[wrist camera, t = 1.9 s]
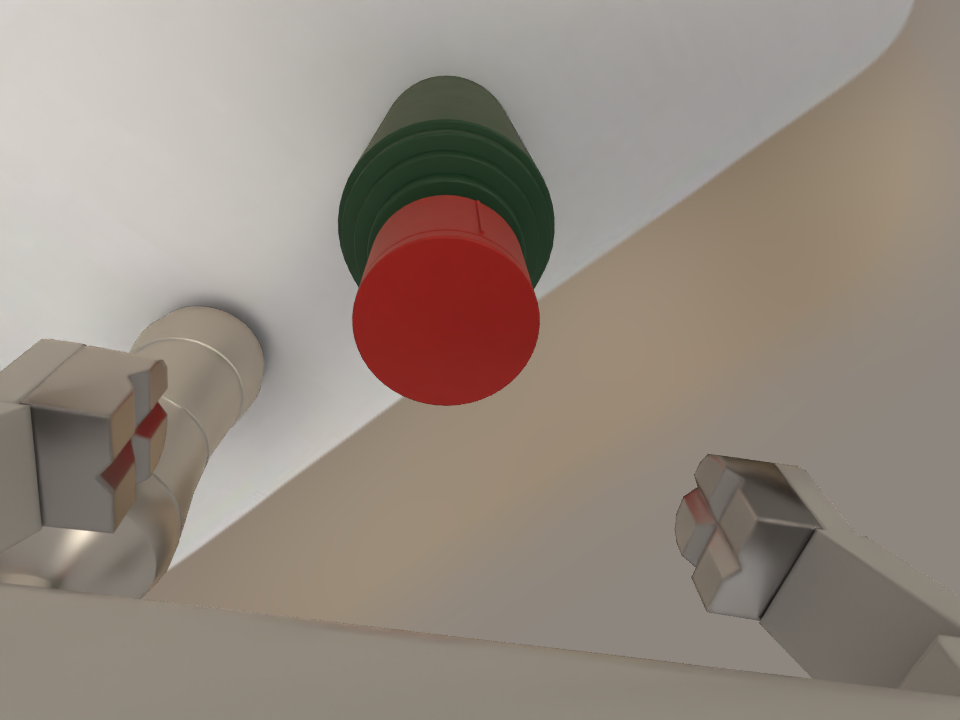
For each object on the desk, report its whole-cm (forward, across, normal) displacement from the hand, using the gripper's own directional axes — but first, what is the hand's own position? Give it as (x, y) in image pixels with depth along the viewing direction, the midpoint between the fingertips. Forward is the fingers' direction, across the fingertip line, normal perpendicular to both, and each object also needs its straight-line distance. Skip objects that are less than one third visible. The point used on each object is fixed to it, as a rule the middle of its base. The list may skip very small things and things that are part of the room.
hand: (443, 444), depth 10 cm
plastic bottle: (+25, +10, +13) cm, 30 cm away
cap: (+8, 0, 0) cm, 8 cm away
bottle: (+25, 0, 0) cm, 25 cm away
